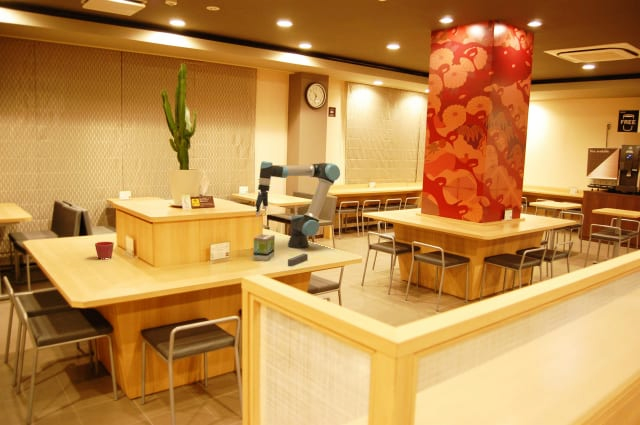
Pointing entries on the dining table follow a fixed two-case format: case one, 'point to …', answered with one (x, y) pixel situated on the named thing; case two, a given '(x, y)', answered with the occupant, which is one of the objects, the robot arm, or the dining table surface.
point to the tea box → (263, 247)
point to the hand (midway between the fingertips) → (260, 216)
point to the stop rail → (297, 259)
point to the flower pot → (104, 249)
